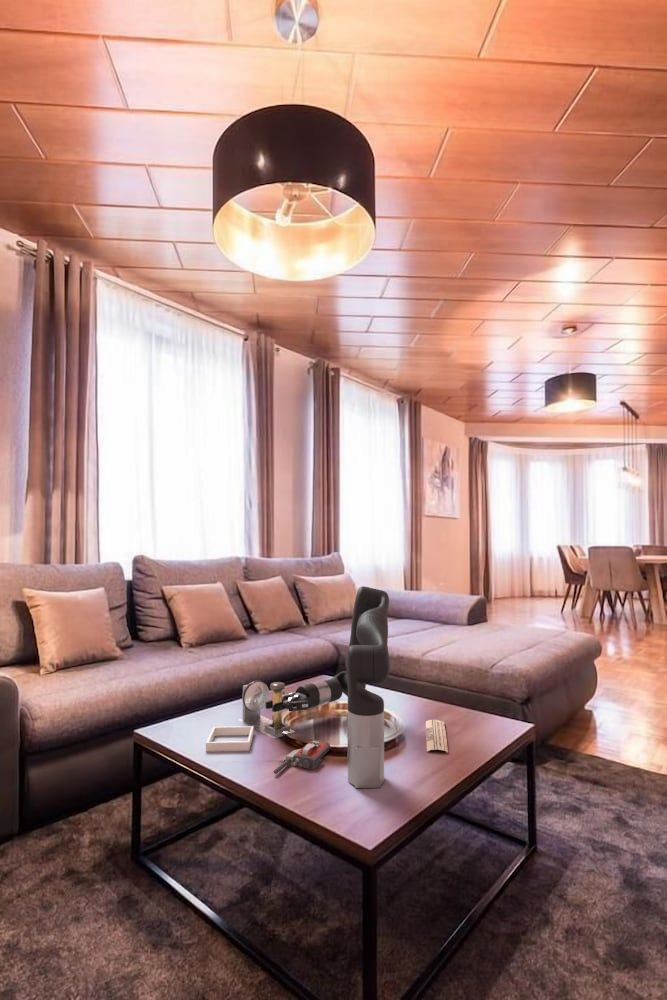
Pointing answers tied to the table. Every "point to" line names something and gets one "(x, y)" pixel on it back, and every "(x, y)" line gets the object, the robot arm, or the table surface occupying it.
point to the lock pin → (277, 698)
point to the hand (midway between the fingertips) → (269, 706)
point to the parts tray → (230, 745)
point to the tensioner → (253, 703)
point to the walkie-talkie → (306, 755)
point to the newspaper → (436, 735)
